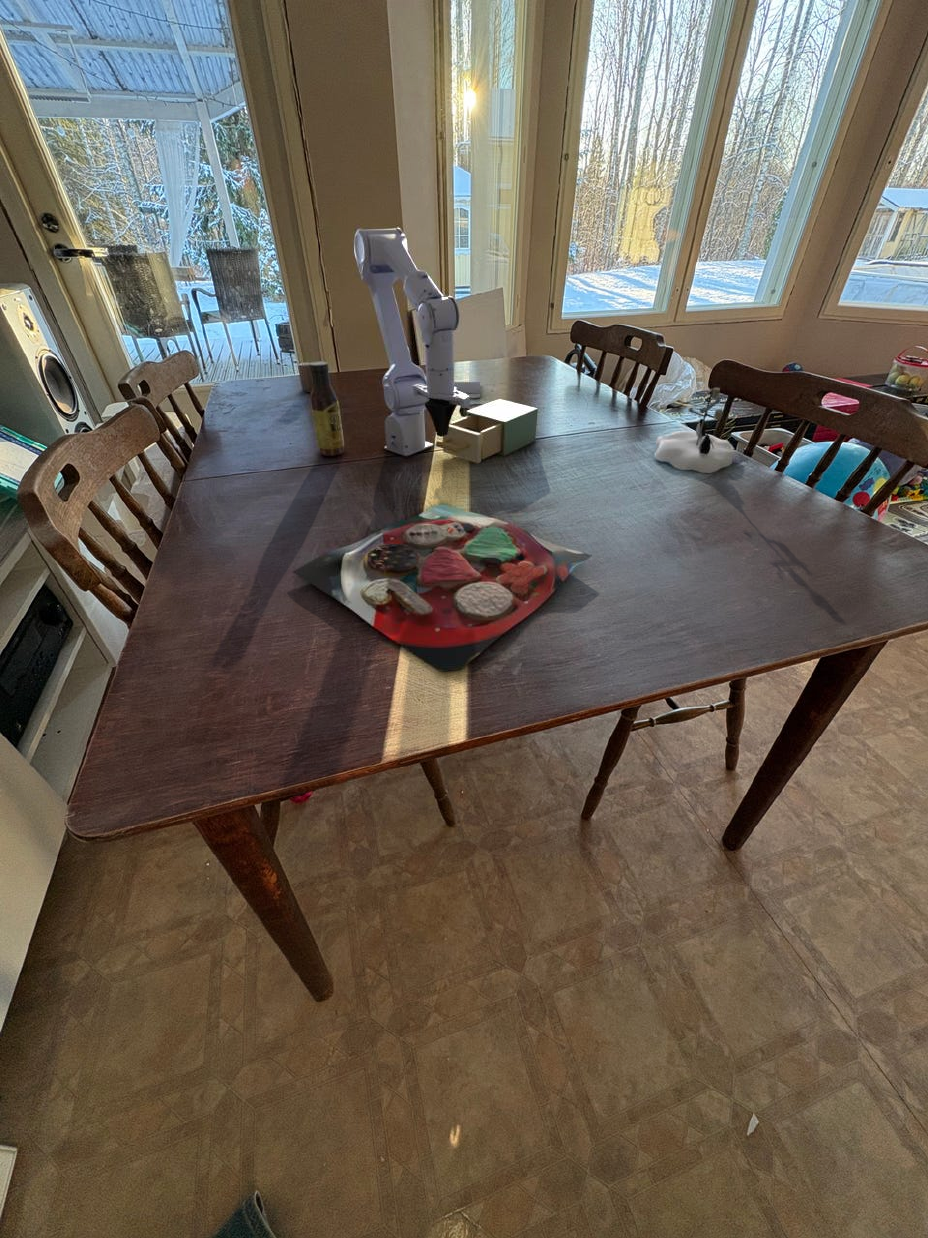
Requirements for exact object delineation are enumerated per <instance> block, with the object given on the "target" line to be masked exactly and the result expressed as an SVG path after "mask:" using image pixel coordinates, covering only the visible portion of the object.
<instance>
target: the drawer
mask: <svg viewBox="0 0 928 1238" xmlns="http://www.w3.org/2000/svg"><path fill="white" fill-rule="evenodd" d="M466 428H471V429H475V430H478V431H481V432H480V433H477V432H473V431H470V430H467V429H466ZM503 428H504V424H503V423H500V422H496V421H493V420H489V419H485V418H482V417H478V416H475V415H469V416H467V417H462V418H458V419H456V420H453V421H450V424H449V428H448V433H447V435H445V436H442V440H440V439H439V440H437V441H436V442H435V445H436V447H437V448H440V449H442V451H443V453H445V454H447V455H451V456H454V457H457V458H459V459H462V460H466V461H469V462H472V463H474V464H479V463H481V462H482V460H485V459H486V458H489V457H491V456H493V455H496V454H497V452H500V451H502V450H503Z"/></svg>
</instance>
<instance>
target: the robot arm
mask: <svg viewBox="0 0 928 1238" xmlns="http://www.w3.org/2000/svg"><path fill="white" fill-rule="evenodd" d="M353 244H354V245H353V248H354V249H353V252H354V256H355V261H356V264H357V267H358V271H359V274H360V277H361V281H362V282H364V283H365V284H367V285H368V288H369V291H370V294H371V298H372V302H373V307H374V309H375V314H376V318H377V321H378V325H379V329H380V333H381V337H382V340H383V345H384V347H385V351H386V352H385V353H386V355H387V360H388V363H389V366H390V367H389V369H388V370H387V371H386V372H385V374H384V376H383V378H382V380H381V381H382V387H383V398H384V402H385V404H386V406H387V408H388V409H389V410H390V411H391V414H390V415H388V416H387V417H386V418H385V419H384V434H385V444H386V445H385V446H384V450H386V451H390V452H392V453H396V454H398V455H401V456H403V457H409V456H412V455H414V454H416V453H419V452H421V451H423V450H426V449H428V448H431V447H433V446H434V443H432V442H429V441H426V427H425V410H426V411H427V412H428V413H429V416H430V418H431V420H432V423H433V426H434V430H435V434H436V436H438V437H440V438H443V436H445V435H447V433H448V428H449V424H450V423H451V420H452V418H453V414H454V413H455V410H456V409H457V406H459V408H460V407H461V408H465V407H468V406H470V404H471V398H470V396H467V395H465V394H463V393H461V392H459V391H457V390H456V387H454V382H455V356H454V355H455V348H454V346H455V345H454V342H455V341H454V340H455V339H454V332H455V331H456V330H457V329H458V327H459V323H460V310H459V305H458V303H457V301H456V300H455V297H453V296H451V295H446V294H442V292H441V291H440V289H439V288H438V287H437V285H436V283H434V281H433V279H432V278H431V277H430V276H429V274H428V272H427V271H426V270H423V269H418V268H417V266H416V264H415V263H414V261H413V259H412V257H411V256H410V254H409V251H408V239H407V237H406V234H404V231H403V230H402V229H401V228H400V227H394V228H380V229H379V228H376V229H374V228H373V229H363V228H358V229H357V230H356V232H355V235H354V239H353ZM398 280H401V282H402V283H403V293H404V295H405V297H406V298H407V300H408V301H409V303H410V305H411V306H412V307H413V309H414V310H415V312H416V313H417V323H418V326H419V329H420V333H421V340H422V341H421V342H422V343H423V344H424V358H425V372H424V369H423V368H421V367H420V366H418V365H416V364H415V363H414V362H412V358H411V354H410V350H409V347H408V342H407V338H406V334H405V330H404V325H403V321H402V318H401V315H400V311H399V306H398V303H397V299H396V294H395V290H394V283H395V282H397V281H398Z"/></svg>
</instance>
